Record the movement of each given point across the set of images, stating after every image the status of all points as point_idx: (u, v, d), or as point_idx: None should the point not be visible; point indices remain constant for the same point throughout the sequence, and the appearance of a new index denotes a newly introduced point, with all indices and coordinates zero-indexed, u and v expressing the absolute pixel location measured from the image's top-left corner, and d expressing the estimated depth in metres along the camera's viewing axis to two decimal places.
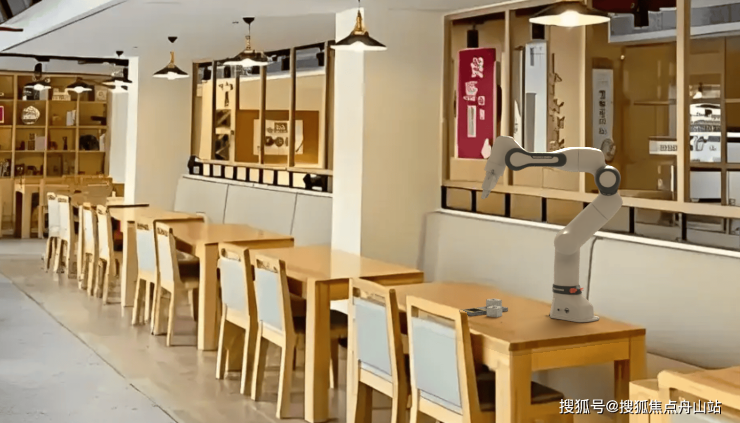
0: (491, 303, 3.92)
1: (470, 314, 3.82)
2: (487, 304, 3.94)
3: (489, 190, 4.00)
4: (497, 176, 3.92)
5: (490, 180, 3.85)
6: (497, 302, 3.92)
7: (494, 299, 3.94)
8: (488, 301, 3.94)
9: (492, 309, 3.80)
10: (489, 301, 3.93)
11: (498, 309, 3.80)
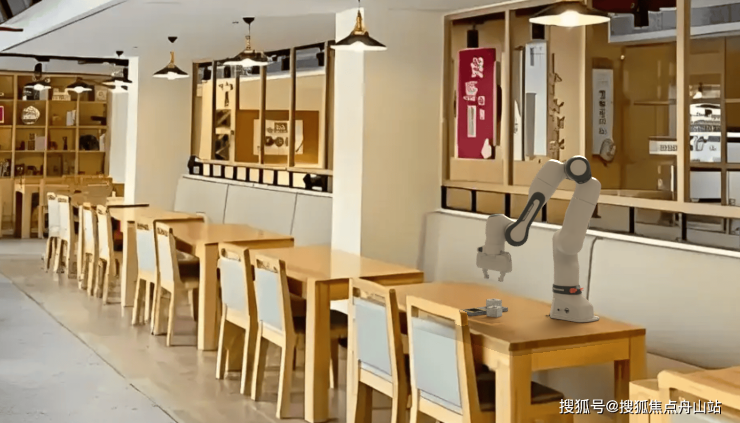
0: (491, 303, 3.92)
1: (470, 314, 3.82)
2: (487, 304, 3.94)
3: (486, 270, 3.98)
4: None
5: (510, 262, 3.86)
6: (497, 302, 3.92)
7: (494, 299, 3.94)
8: (488, 301, 3.94)
9: (492, 309, 3.80)
10: (489, 301, 3.93)
11: (498, 309, 3.80)
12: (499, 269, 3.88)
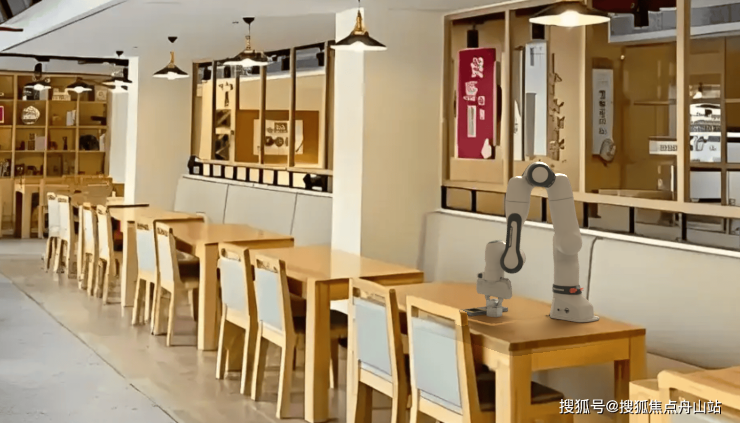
0: (491, 303, 3.92)
1: (470, 314, 3.82)
2: (487, 304, 3.94)
3: (489, 296, 3.98)
4: None
5: (510, 288, 3.86)
6: (497, 302, 3.92)
7: (494, 299, 3.94)
8: (488, 301, 3.94)
9: (492, 309, 3.80)
10: (489, 301, 3.93)
11: (498, 309, 3.80)
12: (499, 295, 3.89)
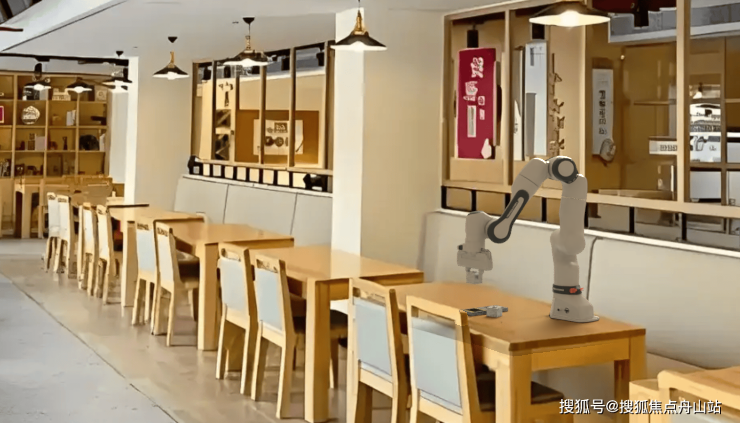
0: (471, 275, 3.84)
1: (470, 314, 3.82)
2: (467, 276, 3.86)
3: None
4: None
5: (491, 259, 3.79)
6: (477, 274, 3.84)
7: (475, 271, 3.87)
8: (468, 273, 3.86)
9: (492, 309, 3.80)
10: (469, 273, 3.85)
11: (498, 309, 3.80)
12: (480, 267, 3.81)
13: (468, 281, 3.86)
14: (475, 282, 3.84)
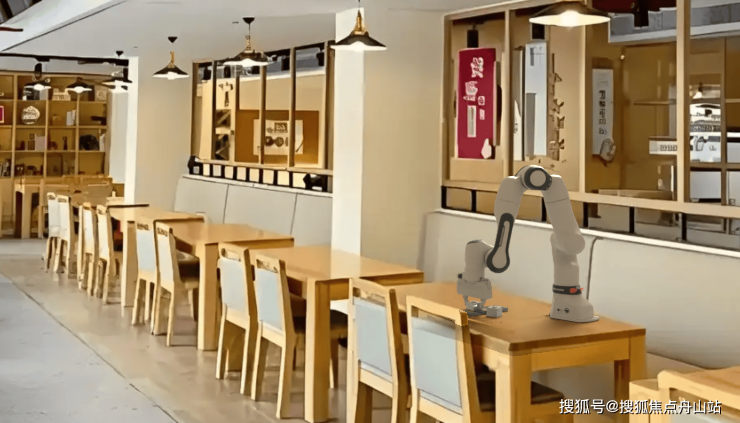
0: (471, 305, 3.85)
1: (470, 314, 3.82)
2: (467, 306, 3.87)
3: None
4: None
5: (490, 289, 3.80)
6: (477, 304, 3.85)
7: (474, 301, 3.88)
8: (468, 303, 3.87)
9: (492, 309, 3.80)
10: (469, 303, 3.86)
11: (498, 309, 3.80)
12: (479, 296, 3.82)
13: None
14: None
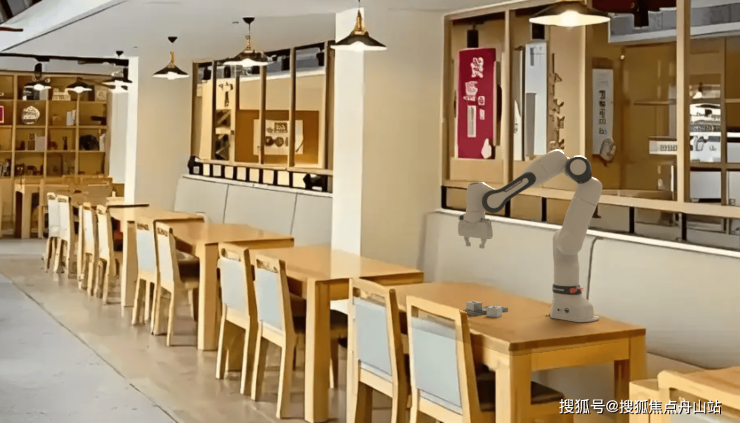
0: (471, 305, 3.85)
1: (470, 314, 3.82)
2: (467, 306, 3.87)
3: (468, 238, 4.03)
4: None
5: (491, 228, 3.91)
6: (477, 304, 3.85)
7: (474, 301, 3.88)
8: (468, 303, 3.87)
9: (492, 309, 3.80)
10: (469, 303, 3.86)
11: (498, 309, 3.80)
12: (480, 236, 3.93)
13: None
14: None
